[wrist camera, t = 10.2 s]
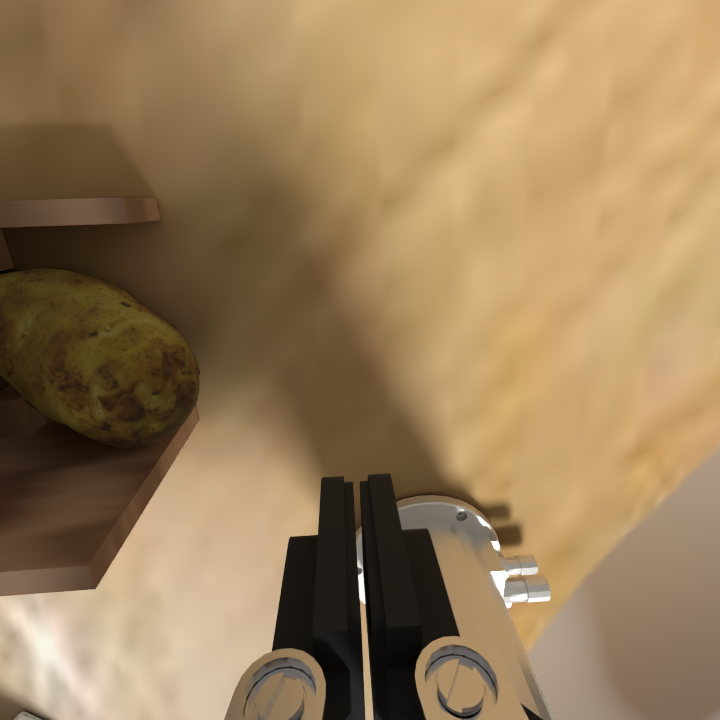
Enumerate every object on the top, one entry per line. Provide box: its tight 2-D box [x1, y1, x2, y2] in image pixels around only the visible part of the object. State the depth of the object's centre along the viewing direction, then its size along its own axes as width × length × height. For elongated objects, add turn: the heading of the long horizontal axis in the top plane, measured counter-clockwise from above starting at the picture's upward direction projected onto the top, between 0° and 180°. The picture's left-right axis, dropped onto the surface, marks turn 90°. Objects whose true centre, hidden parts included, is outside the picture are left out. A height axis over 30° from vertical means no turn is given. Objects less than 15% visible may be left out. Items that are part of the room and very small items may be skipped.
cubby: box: [0, 197, 199, 596], centre depth 20 cm, size 12×14×14 cm
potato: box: [0, 268, 200, 449], centre depth 22 cm, size 8×13×8 cm, turn 46°
